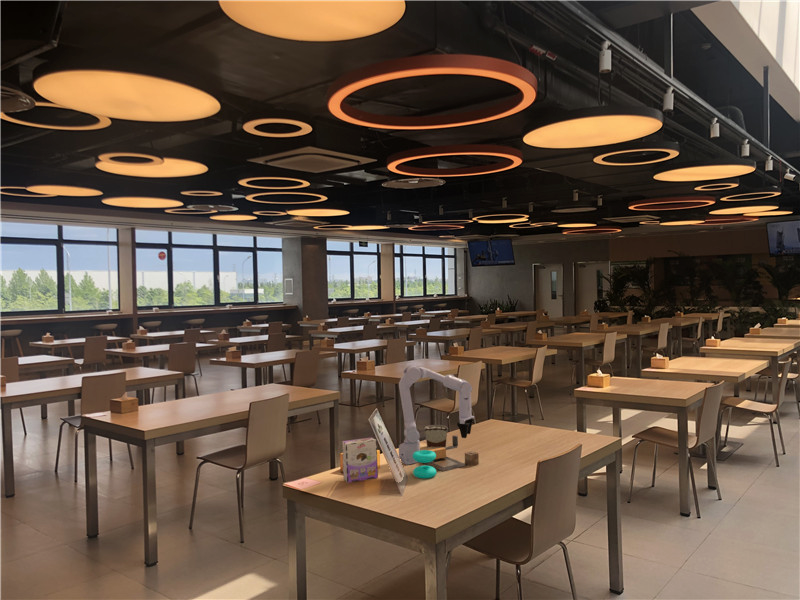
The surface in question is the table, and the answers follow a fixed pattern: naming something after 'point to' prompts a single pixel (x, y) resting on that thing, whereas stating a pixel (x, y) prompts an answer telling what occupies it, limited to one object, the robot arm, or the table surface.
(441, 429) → the food container
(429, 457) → the donuts
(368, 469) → the candy box
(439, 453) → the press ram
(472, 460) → the block
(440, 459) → the frame
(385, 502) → the table surface
